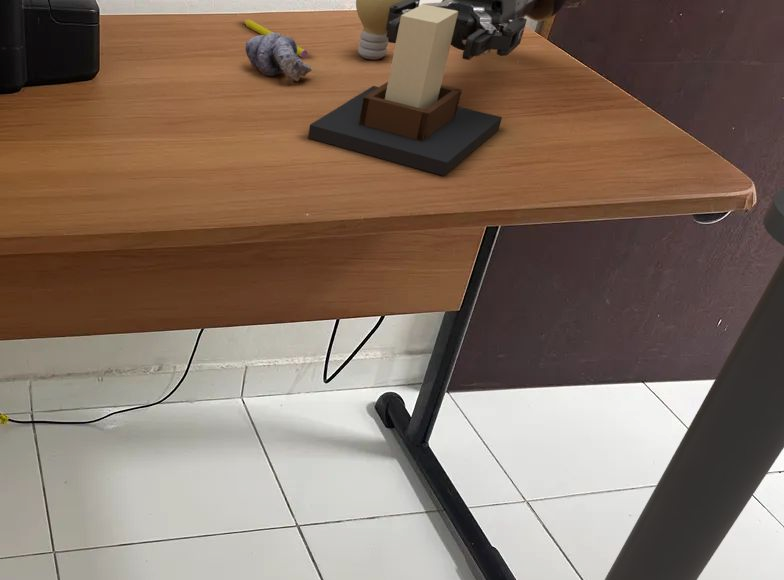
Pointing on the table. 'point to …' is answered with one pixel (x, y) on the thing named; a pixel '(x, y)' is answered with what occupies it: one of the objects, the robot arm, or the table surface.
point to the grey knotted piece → (276, 56)
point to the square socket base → (407, 129)
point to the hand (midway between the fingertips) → (429, 41)
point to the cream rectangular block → (420, 55)
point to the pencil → (265, 31)
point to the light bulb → (373, 27)
